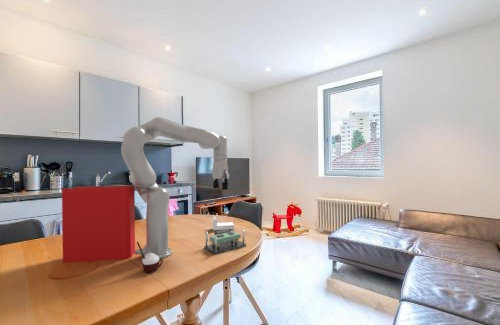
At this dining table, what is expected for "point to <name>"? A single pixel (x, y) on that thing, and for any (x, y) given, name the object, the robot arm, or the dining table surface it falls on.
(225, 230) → the block
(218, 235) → the board
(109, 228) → the book
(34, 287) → the dining table surface
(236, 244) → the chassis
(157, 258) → the cocoa
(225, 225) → the bracket
